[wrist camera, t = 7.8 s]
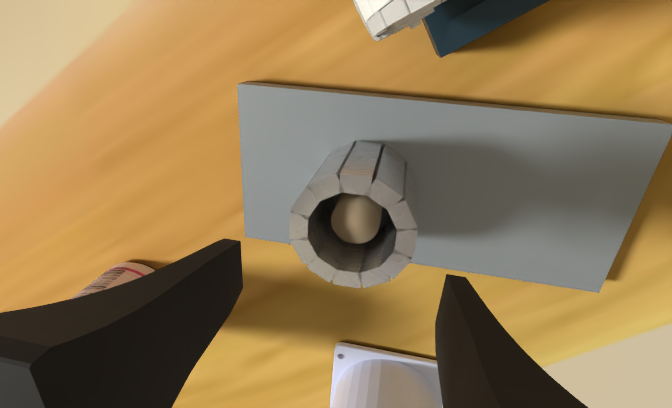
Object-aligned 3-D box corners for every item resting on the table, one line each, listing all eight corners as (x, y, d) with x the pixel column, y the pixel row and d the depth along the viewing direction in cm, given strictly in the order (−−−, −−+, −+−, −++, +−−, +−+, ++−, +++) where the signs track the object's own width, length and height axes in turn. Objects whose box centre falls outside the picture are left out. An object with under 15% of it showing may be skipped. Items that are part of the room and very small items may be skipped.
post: (382, 213, 20) (376, 246, 17) (343, 207, 20) (329, 239, 17) (387, 175, 19) (382, 203, 16) (346, 170, 19) (332, 196, 16)
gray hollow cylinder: (408, 239, 20) (406, 296, 16) (315, 225, 21) (289, 276, 17) (423, 147, 18) (426, 183, 14) (318, 136, 19) (289, 167, 14)
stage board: (589, 279, 21) (598, 292, 20) (252, 227, 24) (245, 236, 22) (659, 119, 17) (676, 124, 16) (246, 81, 20) (237, 83, 19)
